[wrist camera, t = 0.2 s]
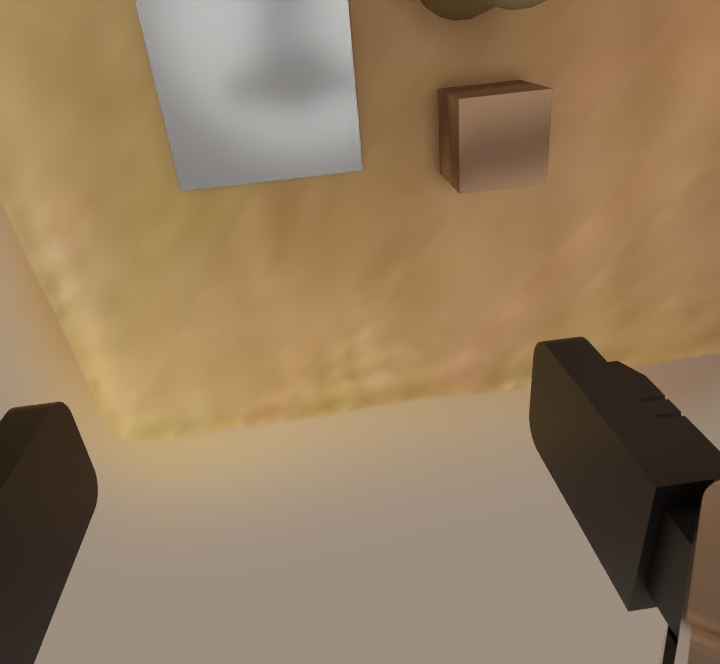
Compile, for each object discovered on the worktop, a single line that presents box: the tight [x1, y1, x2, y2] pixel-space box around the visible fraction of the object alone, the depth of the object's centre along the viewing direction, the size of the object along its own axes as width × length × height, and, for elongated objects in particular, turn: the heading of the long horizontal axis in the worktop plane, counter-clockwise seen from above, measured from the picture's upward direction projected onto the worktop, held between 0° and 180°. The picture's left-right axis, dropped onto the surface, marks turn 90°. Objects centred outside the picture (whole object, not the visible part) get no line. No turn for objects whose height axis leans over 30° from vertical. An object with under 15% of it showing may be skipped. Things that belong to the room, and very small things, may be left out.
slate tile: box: [135, 0, 363, 192], centre depth 33 cm, size 11×11×1 cm
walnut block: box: [438, 80, 553, 194], centre depth 34 cm, size 5×5×5 cm
